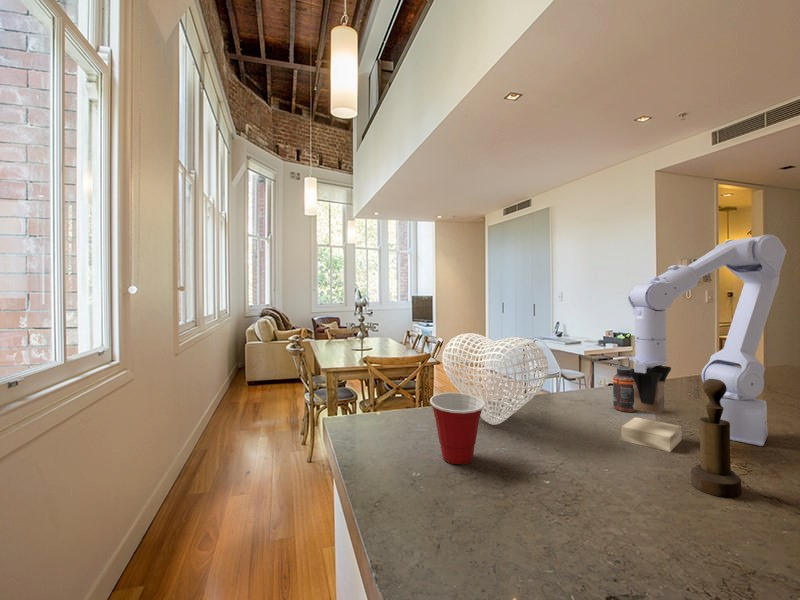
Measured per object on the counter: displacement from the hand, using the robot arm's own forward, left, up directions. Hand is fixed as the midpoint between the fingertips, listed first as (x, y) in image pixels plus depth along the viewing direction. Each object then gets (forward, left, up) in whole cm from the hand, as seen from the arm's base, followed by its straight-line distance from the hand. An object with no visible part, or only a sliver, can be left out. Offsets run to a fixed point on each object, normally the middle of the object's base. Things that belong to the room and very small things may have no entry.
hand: (650, 401), depth 86 cm
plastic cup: (+23, +37, -9) cm, 45 cm away
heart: (+30, +15, -9) cm, 35 cm away
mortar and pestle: (-14, +16, -9) cm, 23 cm away
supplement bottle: (+11, -20, -9) cm, 25 cm away
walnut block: (0, 0, -2) cm, 2 cm away
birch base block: (0, 0, -8) cm, 8 cm away
